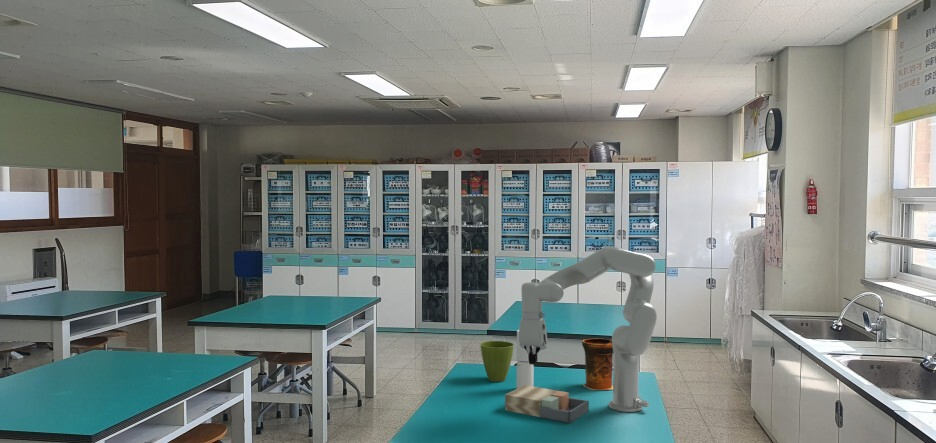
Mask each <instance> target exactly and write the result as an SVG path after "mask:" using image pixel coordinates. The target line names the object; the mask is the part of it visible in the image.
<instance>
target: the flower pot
mask: <svg viewBox="0 0 936 443" xmlns="http://www.w3.org/2000/svg"><path fill="white" fill-rule="evenodd" d="M479 347H480V353H481V358H482V363H483V365H484V369H485V373H486V376H487V379H488V380H489V381H490V382H495V383H496V382H497V383H498V382H504V381H506V379H507V376H508V374H509V370H510V367H511V363H512V359H513V358H512V357H513V352H514V348H515V346H514V343H513V342H509V341H503V340H501V341H500V340H487V341H483V342H481V343H480V345H479Z"/></svg>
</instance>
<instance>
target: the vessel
mask: <svg viewBox="0 0 936 443" xmlns="http://www.w3.org/2000/svg"><path fill="white" fill-rule="evenodd" d="M581 346H582V347H583V350H584V360H585V362H584V363H585V364H584V365H585V366H584V370H585V383H583V384H582V386H583V387H584V388H587V389H588V390H591V391H594V390H595V391H603V390H605V391H607V390H608V391H609V390H613V366H614V362H613V360H614V358H613V346H612V339H608V338H602V337H601V338H599V337H594V338H586V339H583V340H582V341H581Z"/></svg>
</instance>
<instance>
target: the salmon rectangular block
mask: <svg viewBox="0 0 936 443" xmlns="http://www.w3.org/2000/svg"><path fill="white" fill-rule="evenodd" d="M557 391H558V392H556V393H555V394H553V395H552V396H553V397H558V398H559V410H563V411H565V410H566V409H568V408H569V394H570V393H569V392H566V391H561V390H557Z"/></svg>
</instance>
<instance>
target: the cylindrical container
mask: <svg viewBox="0 0 936 443" xmlns="http://www.w3.org/2000/svg"><path fill="white" fill-rule="evenodd" d="M532 347H533V346H532ZM534 365H535V364H534ZM534 365H532V364H529V359H528V353H527V351H526V350H525V348H522V347H520V343H519V329H518V330H516V389H518V388H520V387H522V386H524V385H528V386H534V384H535V383H534V382H535V381H534V378H535V377H534V376H535V375H534V374H535V373H534ZM534 387H535V386H534Z"/></svg>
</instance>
